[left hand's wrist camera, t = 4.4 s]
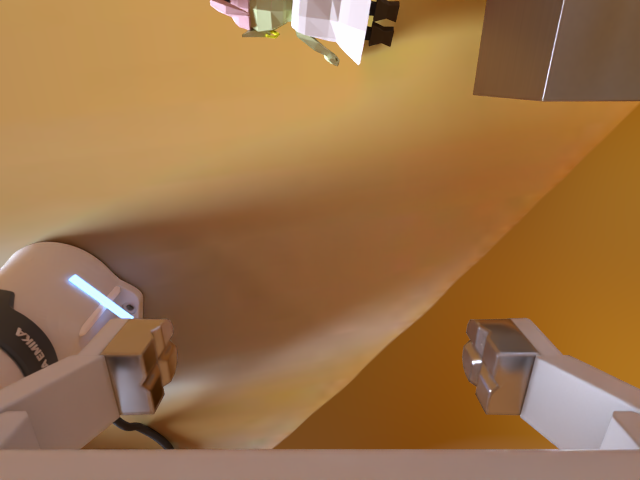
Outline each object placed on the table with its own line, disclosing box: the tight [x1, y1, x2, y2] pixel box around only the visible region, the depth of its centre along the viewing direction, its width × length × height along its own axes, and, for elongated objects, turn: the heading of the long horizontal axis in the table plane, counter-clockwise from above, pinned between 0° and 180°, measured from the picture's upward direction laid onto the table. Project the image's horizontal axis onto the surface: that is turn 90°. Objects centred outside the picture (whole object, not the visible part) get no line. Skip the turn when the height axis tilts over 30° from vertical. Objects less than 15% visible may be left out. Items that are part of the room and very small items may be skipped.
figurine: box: [210, 0, 400, 66], centre depth 32 cm, size 9×7×15 cm
